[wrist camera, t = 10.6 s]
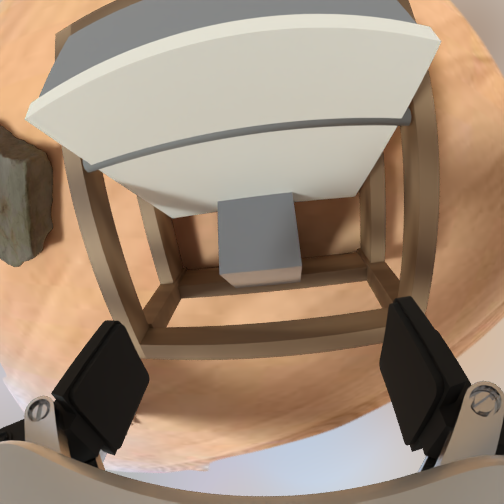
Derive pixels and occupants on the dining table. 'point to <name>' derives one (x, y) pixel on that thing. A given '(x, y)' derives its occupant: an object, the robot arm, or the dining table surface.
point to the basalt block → (259, 241)
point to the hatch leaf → (236, 96)
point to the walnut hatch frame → (312, 275)
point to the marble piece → (23, 199)
